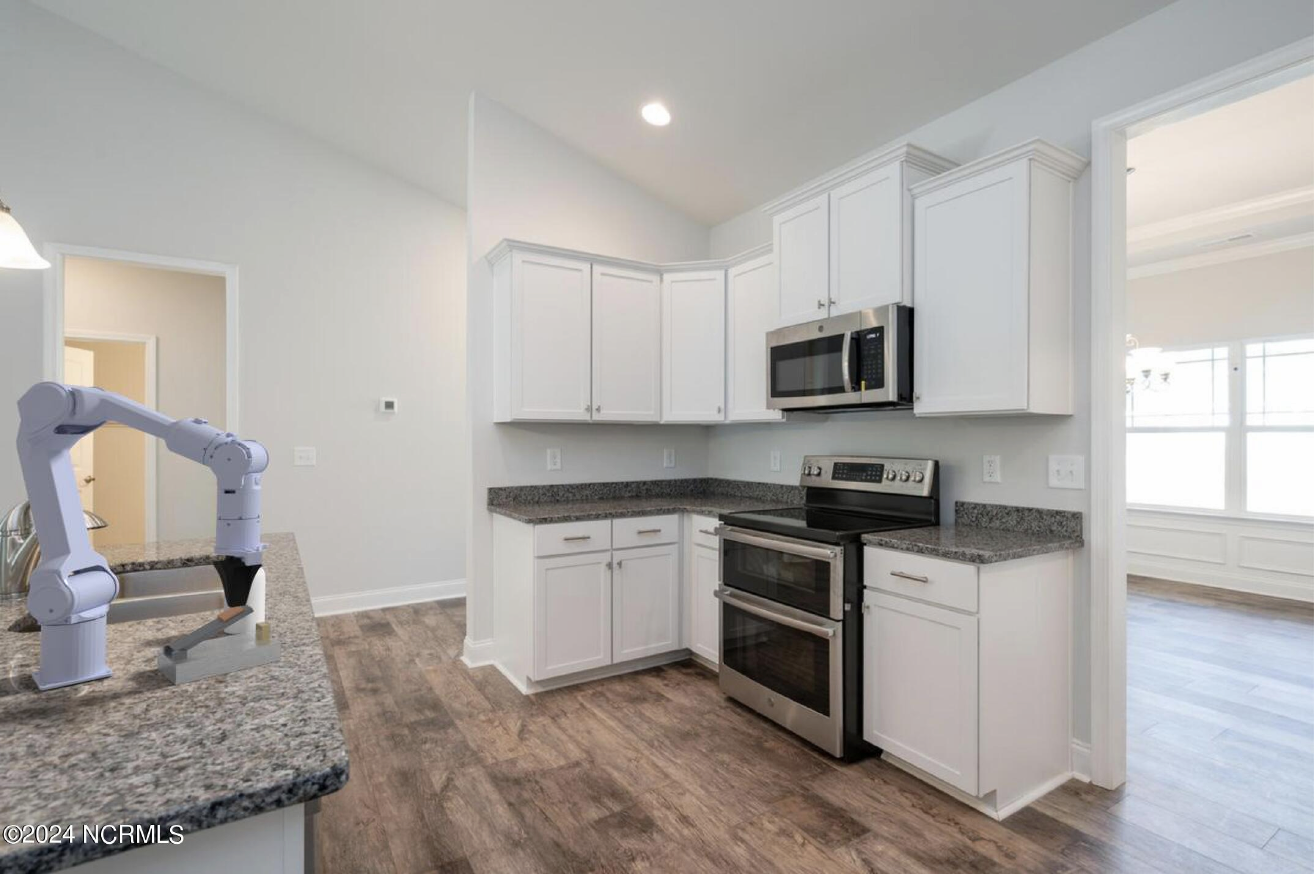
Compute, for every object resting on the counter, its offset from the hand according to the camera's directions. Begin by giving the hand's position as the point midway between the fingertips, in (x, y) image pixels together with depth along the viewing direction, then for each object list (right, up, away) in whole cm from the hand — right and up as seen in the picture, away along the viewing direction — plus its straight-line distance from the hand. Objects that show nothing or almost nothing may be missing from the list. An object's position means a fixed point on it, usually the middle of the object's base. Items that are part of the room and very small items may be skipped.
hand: (236, 605), depth 97 cm
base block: (-5, -10, +3) cm, 12 cm away
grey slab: (-5, -5, +3) cm, 8 cm away
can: (-13, -11, +22) cm, 27 cm away
